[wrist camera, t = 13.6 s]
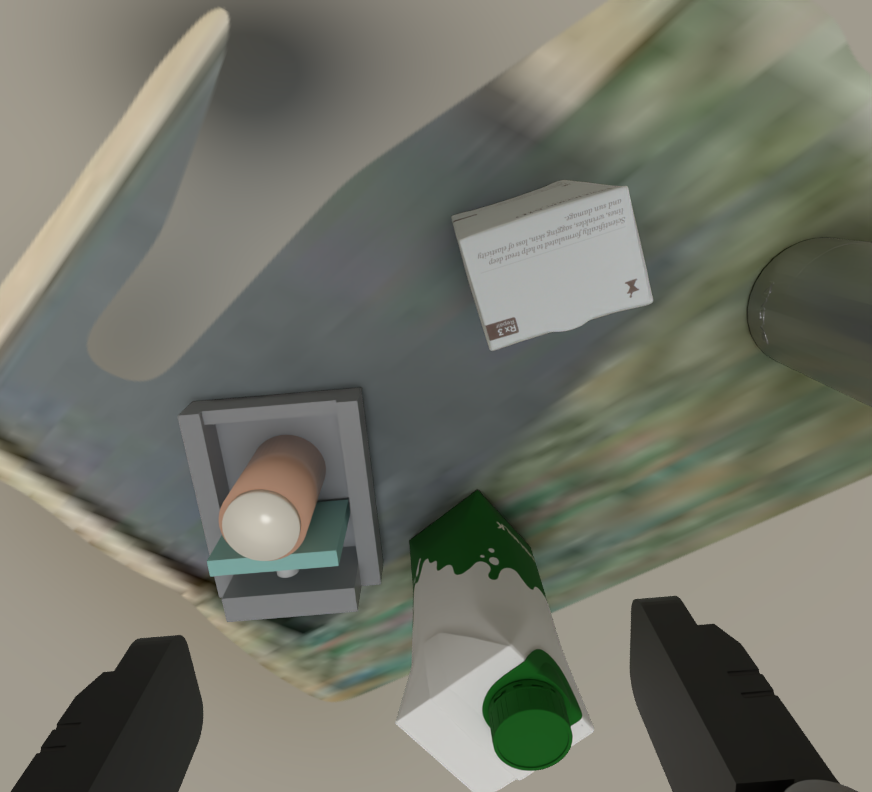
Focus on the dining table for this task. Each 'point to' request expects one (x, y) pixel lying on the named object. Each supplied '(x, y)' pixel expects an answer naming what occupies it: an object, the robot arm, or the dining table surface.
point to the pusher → (313, 552)
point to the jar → (273, 499)
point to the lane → (345, 480)
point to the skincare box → (552, 260)
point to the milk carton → (486, 654)
